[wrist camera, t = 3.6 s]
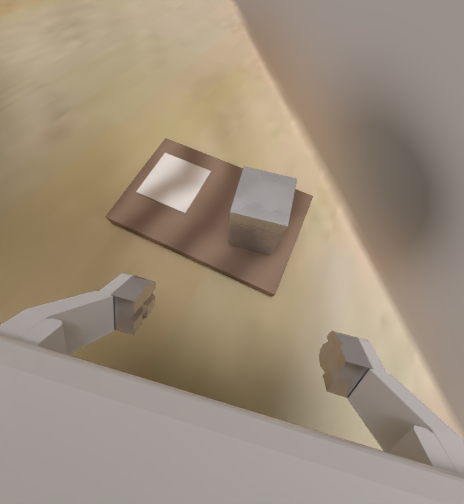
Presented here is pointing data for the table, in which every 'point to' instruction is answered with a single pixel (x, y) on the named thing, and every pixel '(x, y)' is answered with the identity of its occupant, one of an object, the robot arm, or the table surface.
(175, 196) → the walnut board
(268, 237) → the tall grey pillar
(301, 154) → the table surface
